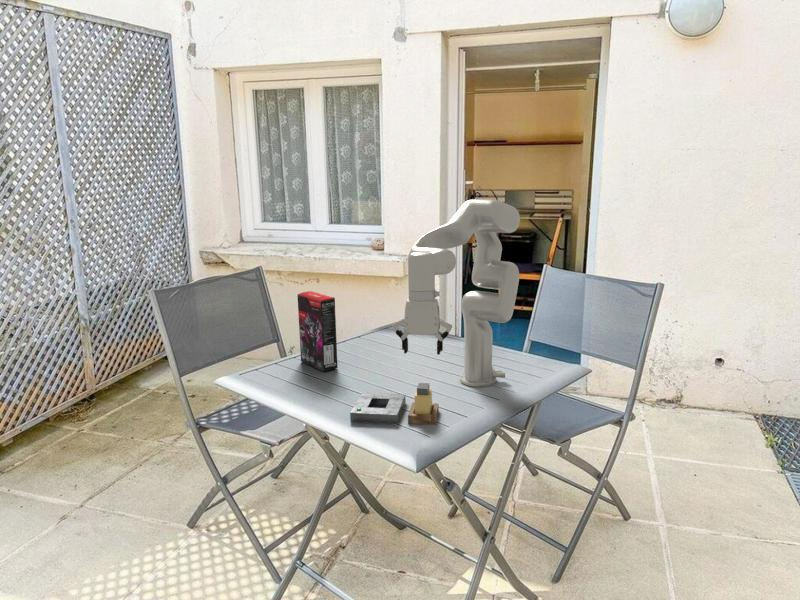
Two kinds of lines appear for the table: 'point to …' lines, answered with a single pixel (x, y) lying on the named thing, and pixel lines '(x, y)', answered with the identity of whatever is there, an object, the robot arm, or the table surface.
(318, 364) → the graphics card box
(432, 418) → the frame
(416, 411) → the plug
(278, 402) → the table surface
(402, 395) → the port
